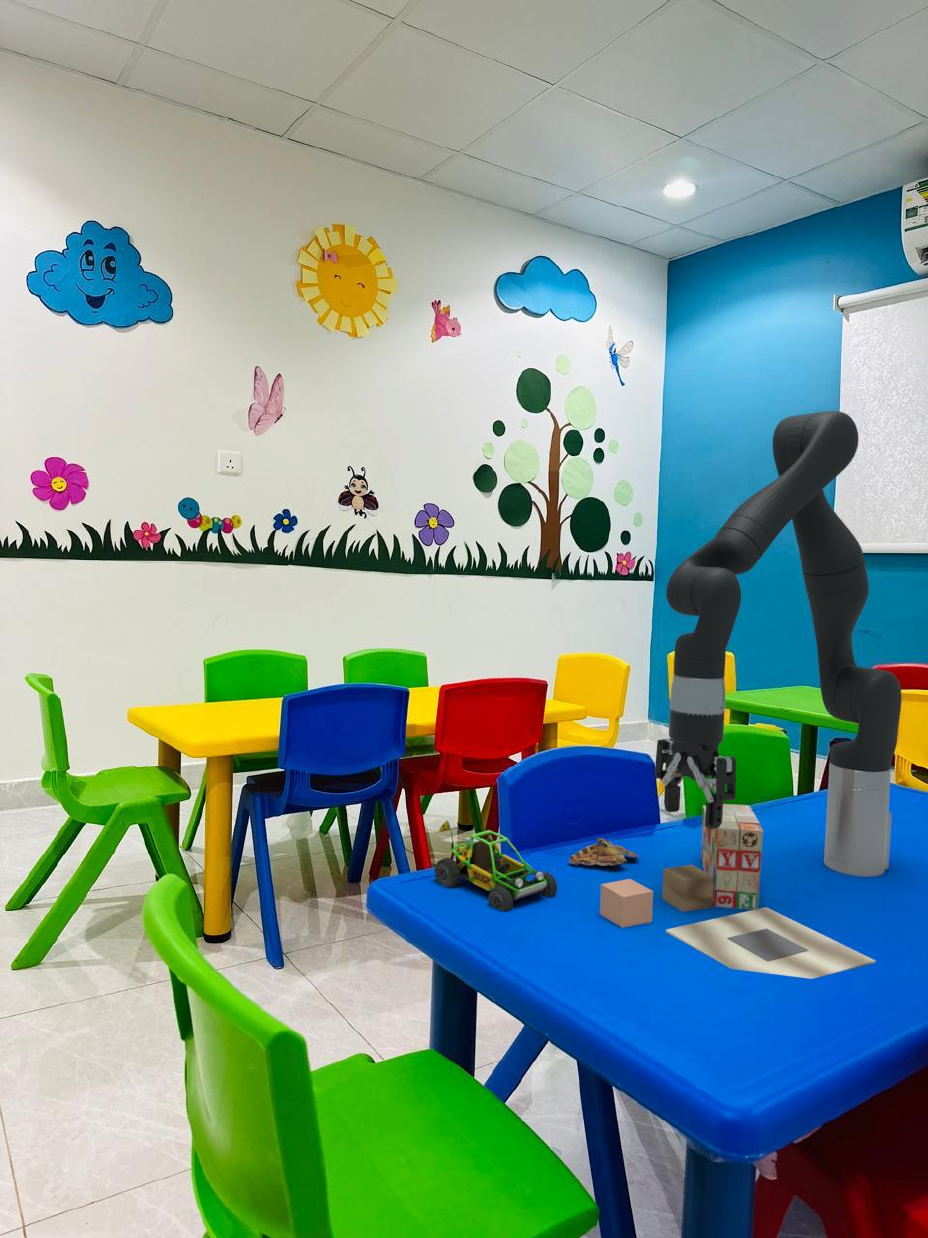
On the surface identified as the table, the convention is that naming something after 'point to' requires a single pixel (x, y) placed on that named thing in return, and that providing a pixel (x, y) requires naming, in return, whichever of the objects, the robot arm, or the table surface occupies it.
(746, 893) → the stack of blocks
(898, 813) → the table surface
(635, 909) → the terracotta cube
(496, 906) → the motor vehicle
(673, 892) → the walnut cube
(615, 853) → the butterfly model
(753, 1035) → the table surface
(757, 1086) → the table surface
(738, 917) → the cream flat pad
